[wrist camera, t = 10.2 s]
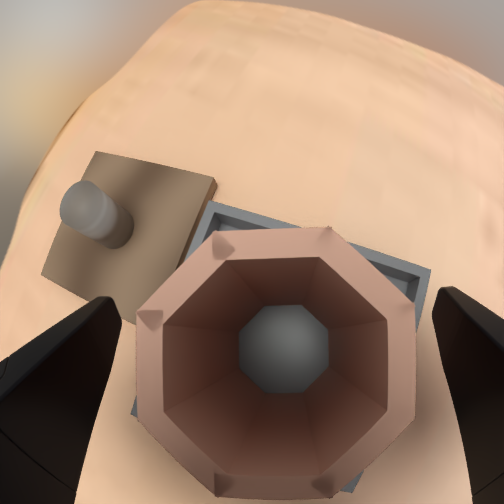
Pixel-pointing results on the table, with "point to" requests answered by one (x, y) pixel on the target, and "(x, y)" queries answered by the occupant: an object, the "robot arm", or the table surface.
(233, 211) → the charcoal tray
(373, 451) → the ring tube
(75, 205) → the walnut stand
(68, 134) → the table surface
